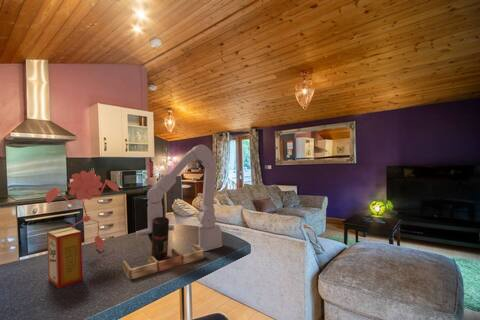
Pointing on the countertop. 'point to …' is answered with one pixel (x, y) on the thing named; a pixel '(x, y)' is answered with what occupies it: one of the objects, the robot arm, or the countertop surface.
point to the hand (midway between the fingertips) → (156, 251)
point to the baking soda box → (64, 256)
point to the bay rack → (164, 262)
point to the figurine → (84, 194)
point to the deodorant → (160, 237)
